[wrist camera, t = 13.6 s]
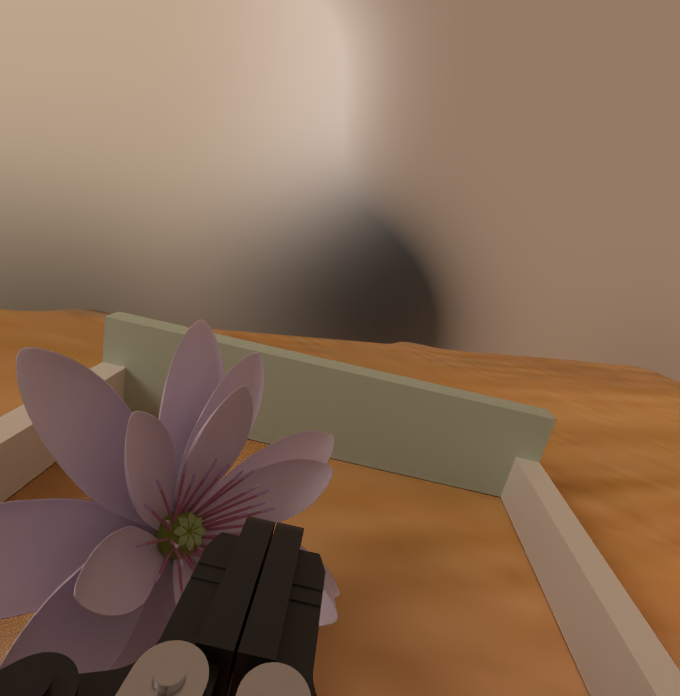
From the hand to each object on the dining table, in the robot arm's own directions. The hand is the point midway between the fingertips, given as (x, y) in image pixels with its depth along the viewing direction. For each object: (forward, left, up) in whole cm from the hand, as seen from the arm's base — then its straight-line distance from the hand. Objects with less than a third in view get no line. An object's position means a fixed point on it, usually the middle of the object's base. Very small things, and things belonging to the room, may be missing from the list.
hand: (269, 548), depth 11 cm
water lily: (+1, +2, -7) cm, 7 cm away
